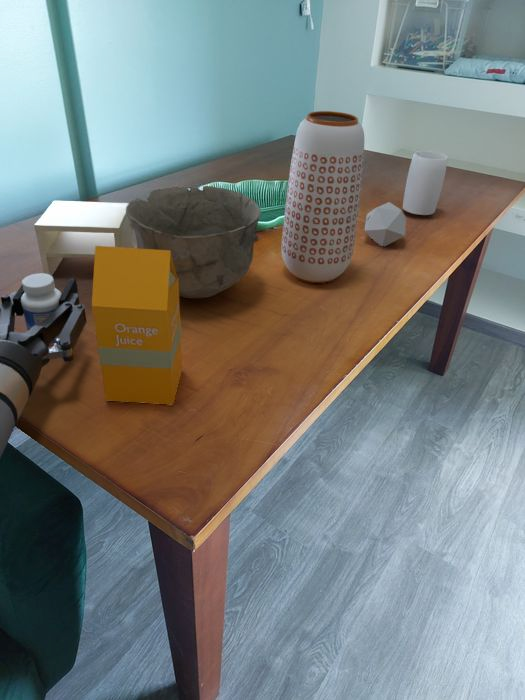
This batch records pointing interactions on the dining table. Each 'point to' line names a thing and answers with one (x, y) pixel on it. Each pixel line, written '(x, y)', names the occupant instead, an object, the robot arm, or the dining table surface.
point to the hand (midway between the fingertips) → (53, 285)
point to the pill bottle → (39, 299)
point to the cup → (424, 182)
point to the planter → (323, 196)
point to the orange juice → (137, 324)
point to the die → (385, 224)
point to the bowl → (199, 234)
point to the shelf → (80, 230)
